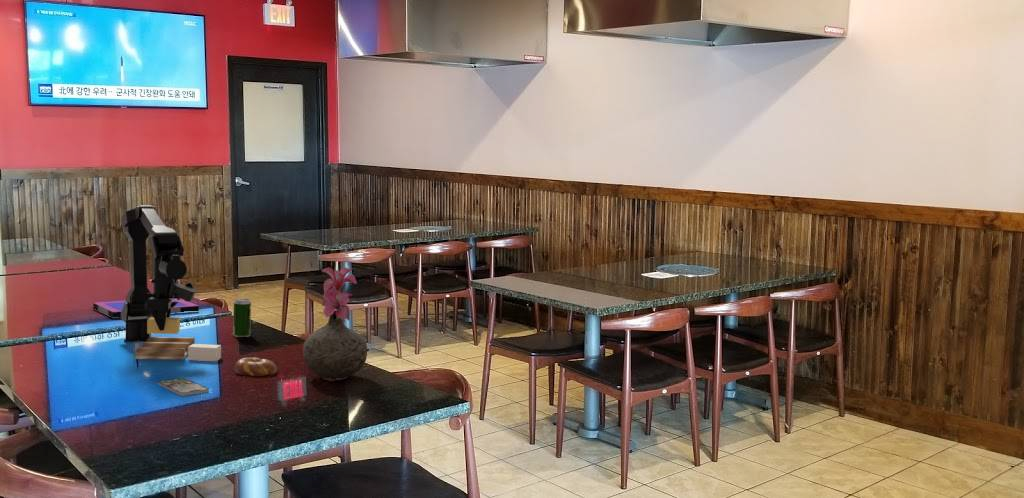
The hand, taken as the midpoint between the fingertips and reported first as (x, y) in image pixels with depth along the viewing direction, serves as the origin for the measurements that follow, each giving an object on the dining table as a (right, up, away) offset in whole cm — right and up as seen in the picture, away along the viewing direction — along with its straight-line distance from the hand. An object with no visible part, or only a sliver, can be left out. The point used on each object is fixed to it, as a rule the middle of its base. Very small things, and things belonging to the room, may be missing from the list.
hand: (163, 328), depth 252 cm
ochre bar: (0, -1, 0) cm, 1 cm away
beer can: (+13, -6, +32) cm, 35 cm away
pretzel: (+30, -11, -12) cm, 34 cm away
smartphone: (+17, -13, -31) cm, 38 cm away
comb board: (-1, -7, +4) cm, 9 cm away
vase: (+52, -12, -14) cm, 55 cm away
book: (-33, 0, +67) cm, 74 cm away
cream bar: (+12, -9, -1) cm, 15 cm away
